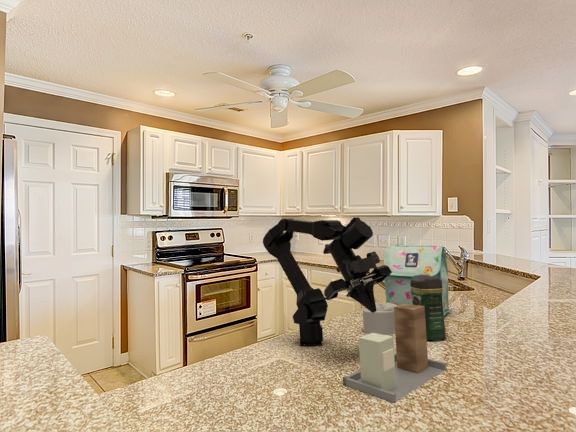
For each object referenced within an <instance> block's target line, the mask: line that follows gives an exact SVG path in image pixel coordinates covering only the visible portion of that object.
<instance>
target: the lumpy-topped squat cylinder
mask: <svg viewBox="0 0 576 432" xmlns="http://www.w3.org/2000/svg"><path fill="white" fill-rule="evenodd" d="M375 304H376V310H377V311H376V312H374V313H372V312H371V311H369V310H368V309H367V308H366V307H364V308H363V309H362V321H363V322H362V323H363V333H364V334H365V335H368V334H370V333H377V334H382V335H387V336H392V335H395V318H394V307H396V306H398V305H396V304H392V303H388V302H387V303H386V302H383V303H382V304H381V302H378V301H375Z"/></svg>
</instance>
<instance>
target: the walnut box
mask: <svg viewBox="0 0 576 432" xmlns="http://www.w3.org/2000/svg"><path fill="white" fill-rule="evenodd" d="M394 318H395V334H394V335H395V348H396V349H395V350H396V352H395V353H397V368H399V369H402V370H406V371H410V372H413V373H417V374H418V373H420V372H421V371H423V370H425V369H426V368H428V359H429V355H428V340H427V338H426V322H425V306H420V305H411V304H402V305H399V306H396V307H394Z"/></svg>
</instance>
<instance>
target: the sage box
mask: <svg viewBox="0 0 576 432" xmlns="http://www.w3.org/2000/svg"><path fill="white" fill-rule="evenodd" d="M358 347H359V348H358V349H359V350H358V351H359V366H360V367H359V368H360V369H359V370H360V372H361V382H363V383H366V384H369V385H372V386H375V387H378V388H381V389H384V390H387V391H389V390H391V389H393V388H394V387H396V376H395V359H394V354H395V345H394V336H392V335H382V334H377V333H370V334H365V335H363V336H360V337H358Z"/></svg>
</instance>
